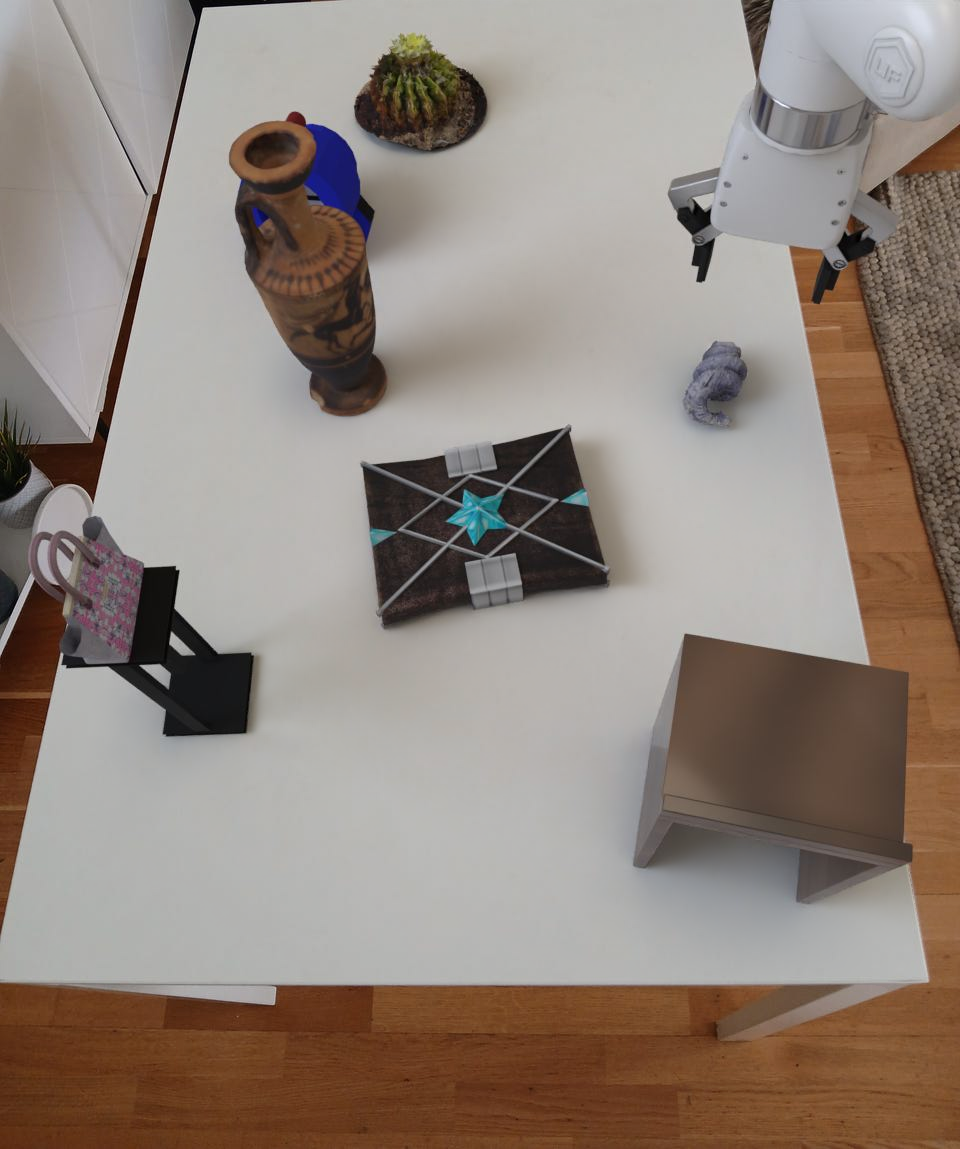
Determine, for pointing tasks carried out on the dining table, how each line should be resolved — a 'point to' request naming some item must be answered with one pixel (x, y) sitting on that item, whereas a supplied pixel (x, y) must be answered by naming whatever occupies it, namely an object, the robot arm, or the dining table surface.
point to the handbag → (142, 633)
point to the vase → (308, 267)
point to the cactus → (420, 97)
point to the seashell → (715, 382)
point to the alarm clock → (331, 177)
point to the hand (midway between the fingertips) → (760, 280)
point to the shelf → (782, 759)
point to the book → (480, 526)
